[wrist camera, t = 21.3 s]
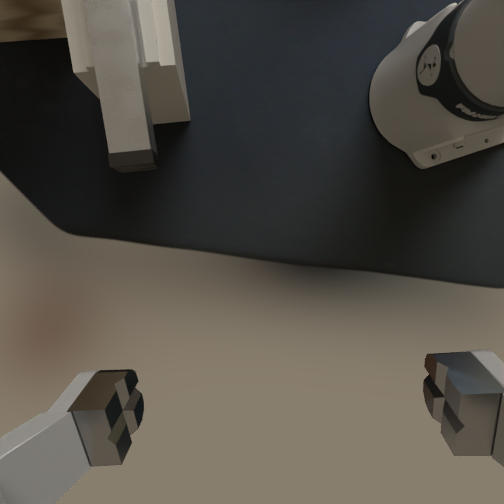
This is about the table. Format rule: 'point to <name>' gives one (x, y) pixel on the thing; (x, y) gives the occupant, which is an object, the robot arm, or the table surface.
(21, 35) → the paper bag with handle
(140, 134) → the grey square bar
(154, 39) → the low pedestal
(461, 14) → the robot arm
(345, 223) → the table surface
